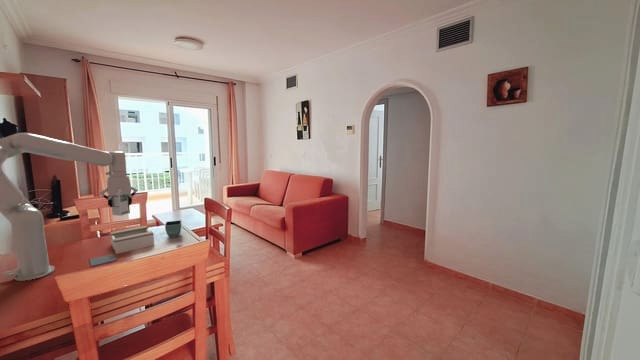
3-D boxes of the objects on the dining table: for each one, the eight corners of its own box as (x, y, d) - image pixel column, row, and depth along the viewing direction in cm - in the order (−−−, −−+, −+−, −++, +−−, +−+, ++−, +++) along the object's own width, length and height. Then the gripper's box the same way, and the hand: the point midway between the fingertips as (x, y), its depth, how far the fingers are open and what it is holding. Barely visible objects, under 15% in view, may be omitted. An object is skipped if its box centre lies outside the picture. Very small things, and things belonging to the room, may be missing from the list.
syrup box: (120, 215, 145) (119, 189, 143) (111, 215, 146) (109, 189, 144) (130, 213, 150) (128, 188, 148) (121, 212, 151) (119, 187, 149)
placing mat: (91, 266, 130) (91, 266, 129) (89, 260, 137) (89, 259, 137) (116, 260, 136) (116, 259, 136) (114, 254, 144) (113, 253, 143)
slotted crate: (116, 253, 144) (114, 240, 143) (111, 244, 157) (110, 232, 156) (154, 245, 157) (153, 232, 156) (147, 236, 169) (146, 225, 168)
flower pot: (167, 234, 173) (166, 221, 172) (182, 233, 177) (181, 220, 176) (165, 239, 166) (164, 225, 164) (181, 237, 169) (180, 223, 168)
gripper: (98, 175, 136) (101, 209, 138) (138, 173, 148) (140, 204, 151) (96, 174, 141) (99, 206, 144) (135, 172, 154) (137, 202, 156)
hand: (120, 205), depth 147 cm, fingers closed on syrup box, 7 cm apart
